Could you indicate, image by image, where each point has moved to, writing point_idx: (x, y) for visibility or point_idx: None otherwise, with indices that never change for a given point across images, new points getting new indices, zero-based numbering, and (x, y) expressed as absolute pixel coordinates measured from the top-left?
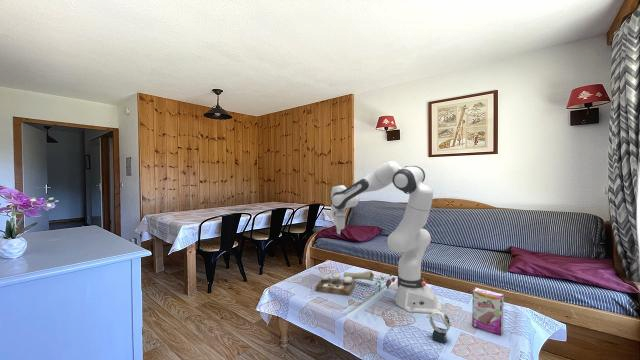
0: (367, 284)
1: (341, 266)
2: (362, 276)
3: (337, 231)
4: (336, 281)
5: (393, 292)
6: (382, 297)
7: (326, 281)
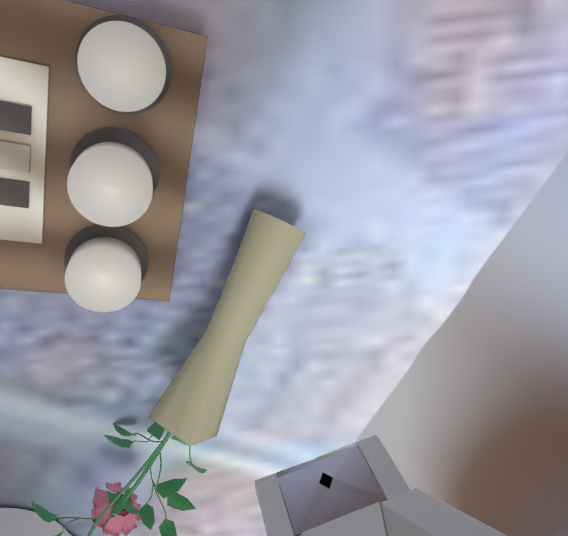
0: None
1: (523, 155)
2: (191, 365)
3: (288, 528)
4: None
5: (121, 484)
6: (33, 446)
7: None
